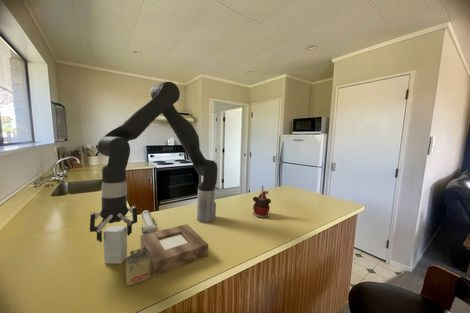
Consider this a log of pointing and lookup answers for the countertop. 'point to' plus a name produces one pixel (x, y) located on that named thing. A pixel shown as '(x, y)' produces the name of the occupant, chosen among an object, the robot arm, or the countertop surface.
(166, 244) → the pad
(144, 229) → the white flashlight
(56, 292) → the countertop surface
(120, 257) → the skincare box
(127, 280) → the beige logo box
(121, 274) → the countertop surface
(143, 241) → the holder block
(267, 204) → the mouse candy apple
